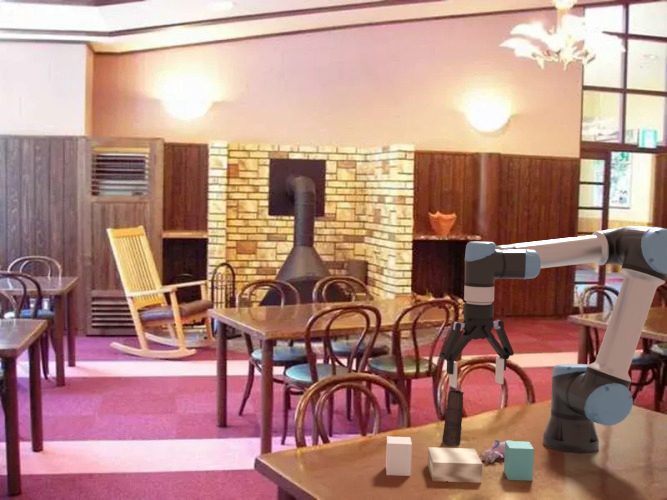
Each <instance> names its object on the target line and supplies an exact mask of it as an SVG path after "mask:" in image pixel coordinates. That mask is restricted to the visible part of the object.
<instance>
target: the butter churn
mask: <svg viewBox="0 0 667 500" xmlns="http://www.w3.org/2000/svg"><path fill="white" fill-rule="evenodd" d="M464 394H465V392H464V391H460V390H458V389H457V388H453V390H448V393H447V399H446V400H447V402H446V403H447V404H446V410H445V411H446V412H445V419H444V425H443V433H442V442H441V443H442V444H446V445H448V446H459V445H460V444H461V439H462V436H461V435H462V429H463V427H462V421H463V411H464V410H463V406H464Z"/></svg>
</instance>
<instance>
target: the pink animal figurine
mask: <svg viewBox="0 0 667 500" xmlns="http://www.w3.org/2000/svg"><path fill="white" fill-rule="evenodd" d="M506 441H512V440H511V439H507V440H506ZM483 452H484V453H481V454H480V455H478V456H479V458H480V459H482V461H484V462H485V463H486V465H488V464H489V463H490V464H493V463H494V462H495V460H496V459H498V458H501V459H504V458H505V441H502V442H500V440H499V439H498V438H496V439H494V443H493V444H492V446H491V447H490V449H488V450H487V449H486V450H484V451H483Z"/></svg>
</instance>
